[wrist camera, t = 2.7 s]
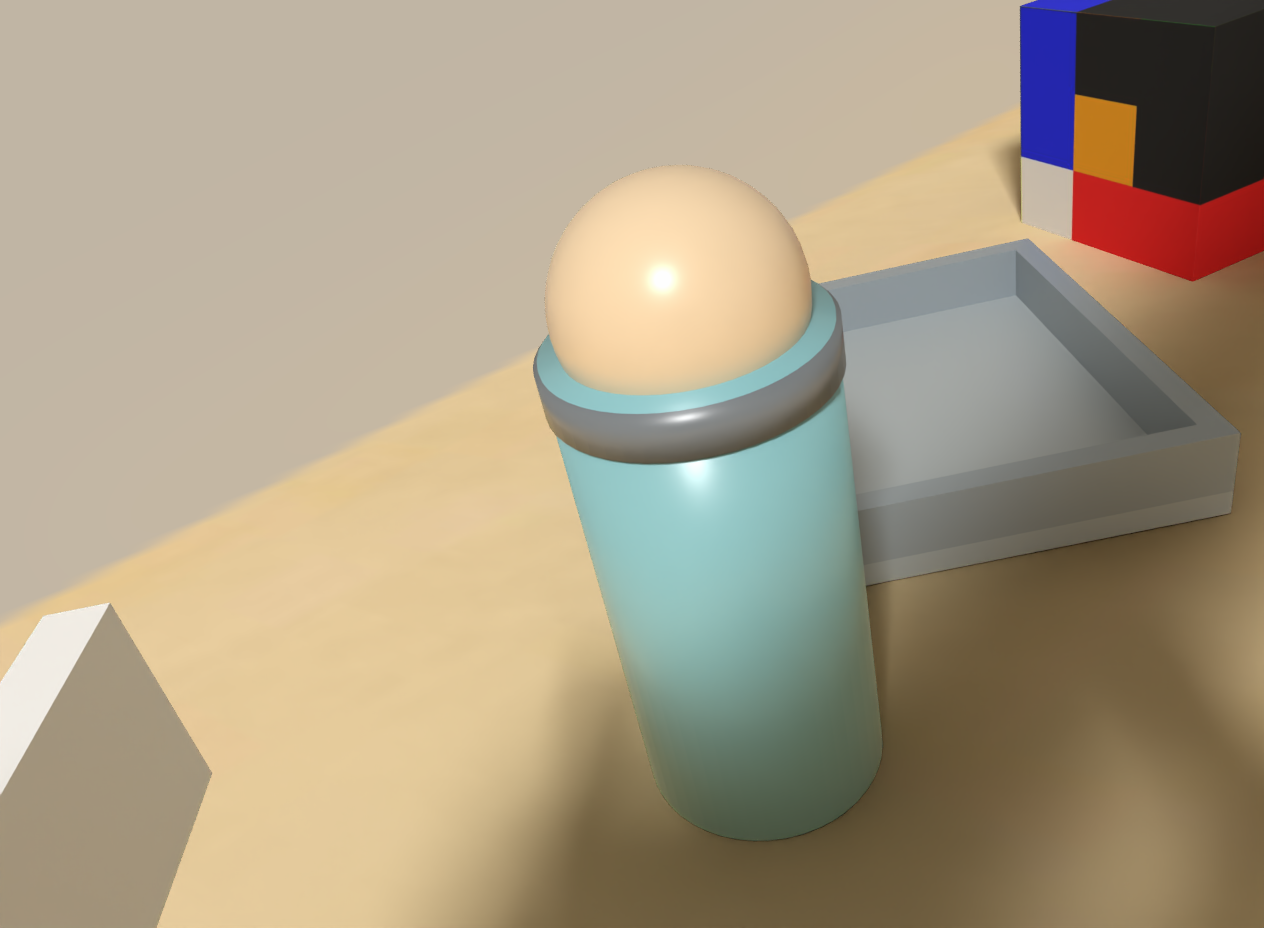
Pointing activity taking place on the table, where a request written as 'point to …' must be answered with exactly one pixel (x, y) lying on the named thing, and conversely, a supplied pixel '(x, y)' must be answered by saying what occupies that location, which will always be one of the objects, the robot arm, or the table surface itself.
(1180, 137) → the puzzle toy
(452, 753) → the table surface
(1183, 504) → the tray
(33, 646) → the robot arm
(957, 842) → the table surface
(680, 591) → the ball tube
